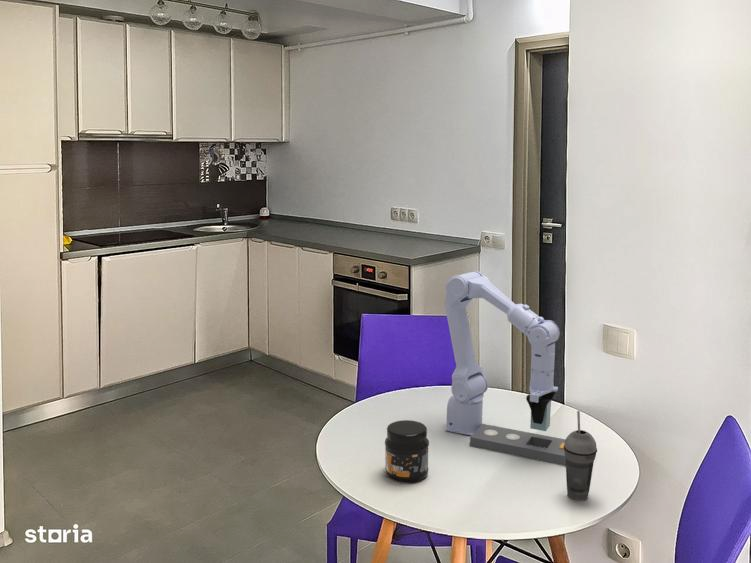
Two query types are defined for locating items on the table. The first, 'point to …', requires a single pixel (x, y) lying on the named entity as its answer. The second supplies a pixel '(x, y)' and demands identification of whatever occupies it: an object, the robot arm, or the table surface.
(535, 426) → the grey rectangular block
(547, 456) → the control panel
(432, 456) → the table surface
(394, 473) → the supplement container
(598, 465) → the table surface
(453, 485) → the table surface
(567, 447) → the beverage cup
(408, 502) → the table surface
